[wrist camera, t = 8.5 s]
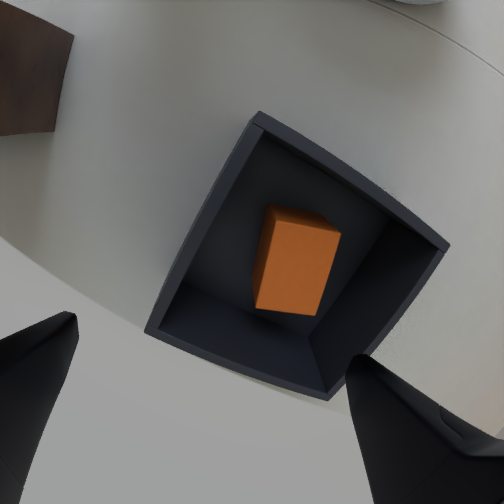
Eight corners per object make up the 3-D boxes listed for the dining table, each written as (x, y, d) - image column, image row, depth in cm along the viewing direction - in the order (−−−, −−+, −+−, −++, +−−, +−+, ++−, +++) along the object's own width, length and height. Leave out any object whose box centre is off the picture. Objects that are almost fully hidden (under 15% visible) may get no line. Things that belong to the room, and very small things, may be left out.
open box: (307, 340, 23) (328, 402, 17) (166, 276, 21) (143, 332, 15) (396, 212, 20) (451, 244, 14) (250, 119, 18) (259, 109, 11)
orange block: (302, 284, 21) (315, 316, 17) (251, 276, 21) (254, 308, 17) (321, 213, 19) (342, 233, 16) (267, 202, 19) (276, 220, 15)
